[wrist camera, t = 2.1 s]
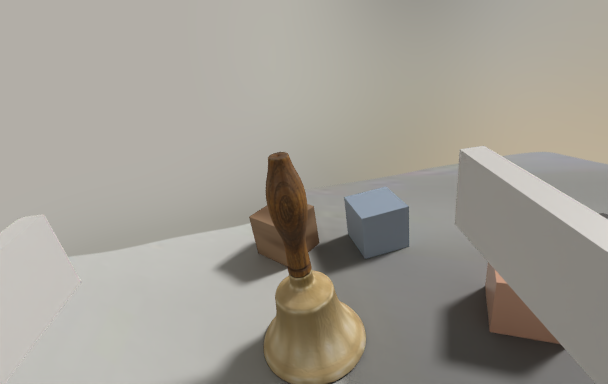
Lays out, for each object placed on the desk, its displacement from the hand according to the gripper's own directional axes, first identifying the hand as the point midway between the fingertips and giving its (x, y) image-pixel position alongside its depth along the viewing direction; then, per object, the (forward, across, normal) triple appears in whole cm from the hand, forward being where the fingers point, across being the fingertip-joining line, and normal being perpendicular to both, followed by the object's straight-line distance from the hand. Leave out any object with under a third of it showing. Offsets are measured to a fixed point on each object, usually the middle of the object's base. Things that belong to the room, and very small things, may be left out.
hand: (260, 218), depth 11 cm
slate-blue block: (+22, +9, -18) cm, 29 cm away
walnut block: (+23, -1, -18) cm, 29 cm away
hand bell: (+10, 0, -18) cm, 20 cm away
